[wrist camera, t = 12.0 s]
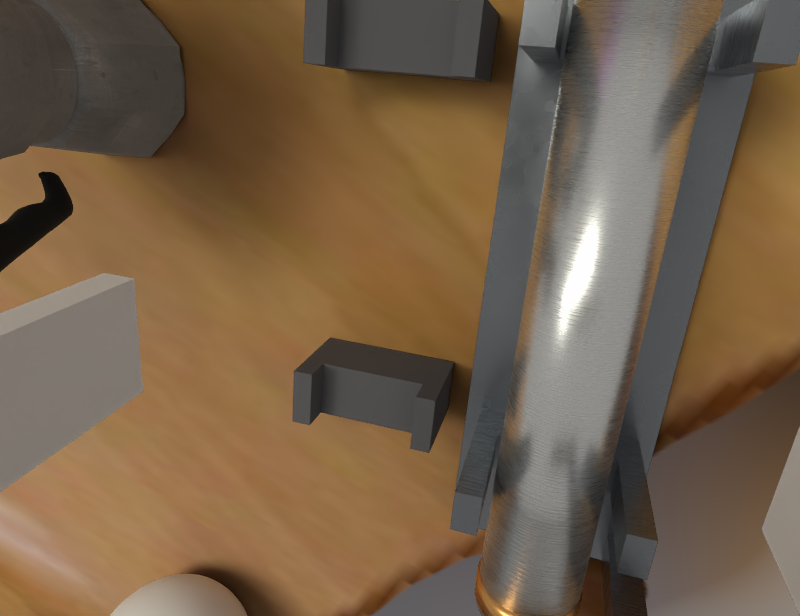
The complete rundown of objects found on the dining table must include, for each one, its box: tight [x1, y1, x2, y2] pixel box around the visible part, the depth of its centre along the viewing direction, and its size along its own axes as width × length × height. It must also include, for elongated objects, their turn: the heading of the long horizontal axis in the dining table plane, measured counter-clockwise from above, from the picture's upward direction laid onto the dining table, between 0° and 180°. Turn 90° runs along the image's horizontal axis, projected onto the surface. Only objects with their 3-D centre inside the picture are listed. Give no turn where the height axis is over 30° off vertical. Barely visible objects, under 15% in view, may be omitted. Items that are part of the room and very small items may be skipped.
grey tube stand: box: [450, 0, 800, 616], centre depth 24 cm, size 35×10×15 cm, turn 175°
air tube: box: [475, 0, 724, 616], centre depth 26 cm, size 28×5×5 cm, turn 175°
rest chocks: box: [293, 0, 499, 453], centre depth 30 cm, size 21×8×5 cm, turn 175°
